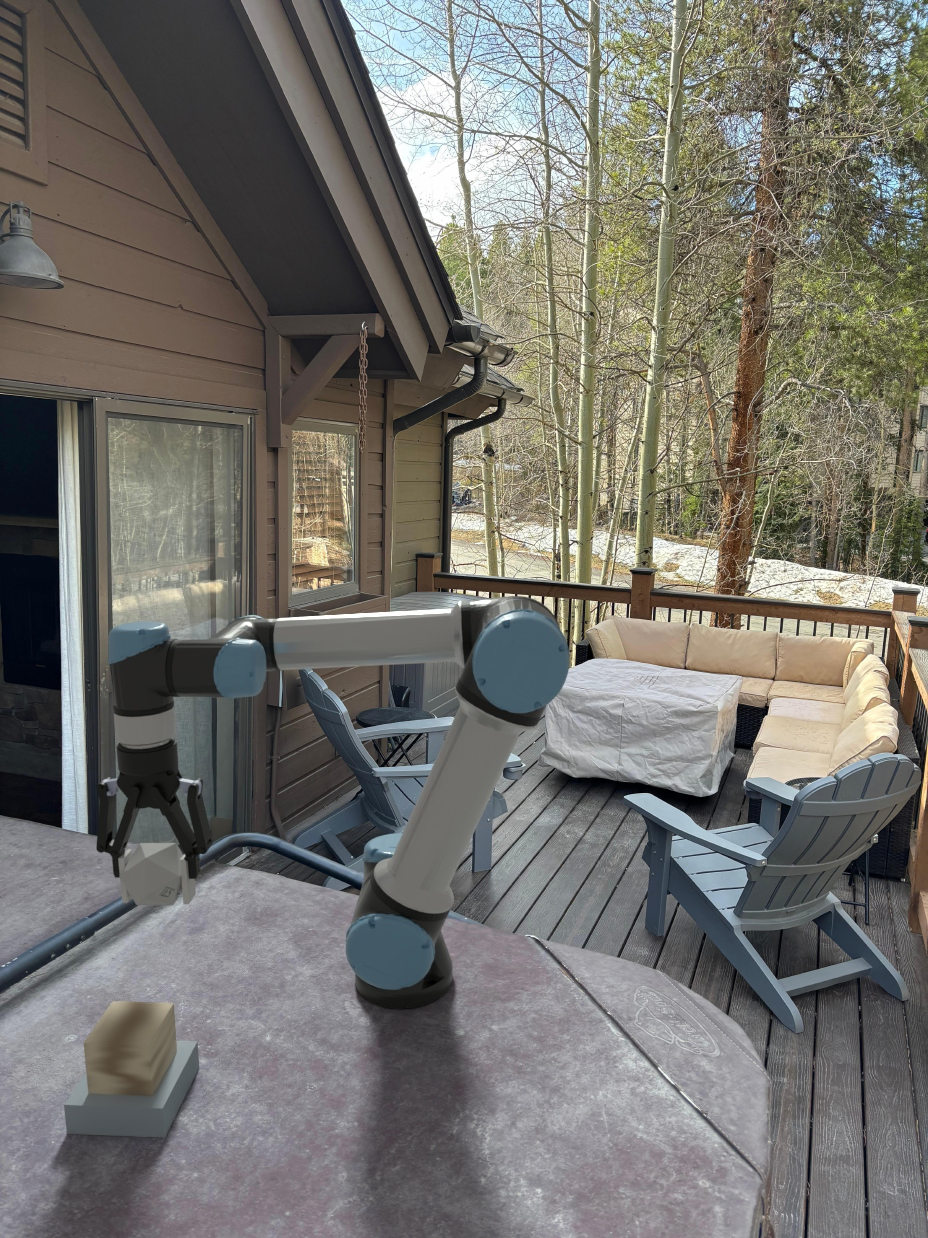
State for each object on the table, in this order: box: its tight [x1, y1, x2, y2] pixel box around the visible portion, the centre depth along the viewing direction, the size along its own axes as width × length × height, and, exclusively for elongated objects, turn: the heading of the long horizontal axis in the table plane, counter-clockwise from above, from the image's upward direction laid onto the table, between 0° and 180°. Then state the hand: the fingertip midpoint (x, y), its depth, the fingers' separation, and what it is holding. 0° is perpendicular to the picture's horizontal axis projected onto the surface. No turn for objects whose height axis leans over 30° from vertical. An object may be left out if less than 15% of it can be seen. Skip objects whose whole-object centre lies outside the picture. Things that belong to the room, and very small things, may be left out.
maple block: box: [83, 1000, 177, 1096], centre depth 109 cm, size 8×8×7 cm
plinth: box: [63, 1039, 200, 1139], centre depth 110 cm, size 12×12×4 cm
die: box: [119, 842, 184, 906], centre depth 119 cm, size 8×9×10 cm
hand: (159, 898), depth 120 cm, fingers closed on die, 8 cm apart
